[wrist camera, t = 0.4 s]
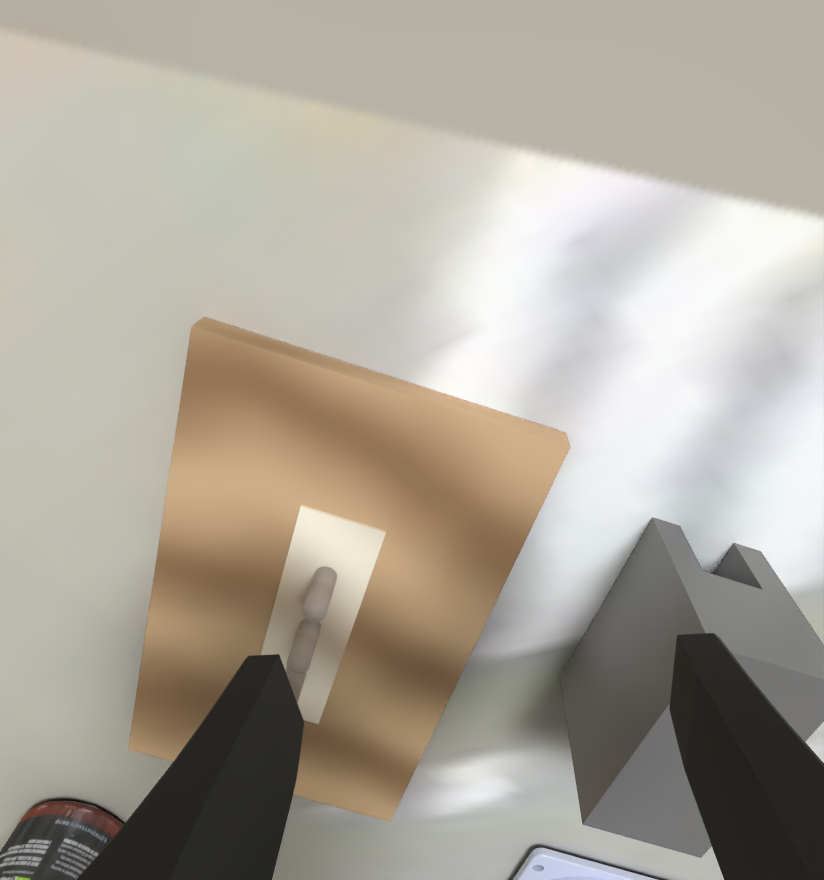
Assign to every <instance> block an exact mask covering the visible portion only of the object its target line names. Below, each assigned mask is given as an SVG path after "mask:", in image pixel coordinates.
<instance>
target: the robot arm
mask: <svg viewBox="0 0 824 880" xmlns="http://www.w3.org/2000/svg"><path fill="white" fill-rule="evenodd" d="M669 710H670V714H671V718H672V722H673V726H674V730H675V735H676V739H677V743H678V747H679V751H680V754H681V758H682V762H683V766H684V770H685V773H686V775H687V778H688V781H689V784H690V787H691V790H692V792H693V795H694V798H695V801H696V803H697V806H698V809H699V812H700V814H701V817H702V820H703V823H704V825H705V828H706V831H707V834H708V836H709V839H710V842H711V845H712V847H713V850H714V853H715V856H716V858H717V861H718V864H719V866H720V869H721V872H722V875H723V877H724V880H824V763H823V762H822V761H821V760H820V759H819V757H818V756H817V755H816V754H815V753H814V752H813V751H812V750H811V748H810V747H809V746H808V745H807V744H806V743H805V742H804V740H803V739H802V738H801V737H800V736H799V735H798V734H797V733H796V731H795V730H794V729H793V728H792V727H791V726H790V725H789V724H788V722H787V721H786V720H785V719H784V718H783V717H782V715H781V714H780V713H779V712H778V711H777V709H776V708H775V707H774V706H773V705H772V703H771V702H770V701H769V700H768V699H767V697H766V696H765V695H764V694H763V693H762V691H761V690H760V689H759V688H758V686H757V685H756V684H755V683H754V681H753V680H752V679H751V678H750V676H749V675H748V674H747V673H746V671H745V670H744V669H743V668H742V666H741V665H740V664H739V662H738V661H737V660H736V659H735V657H734V656H733V655H732V653H731V652H730V651H729V649H728V648H727V647H726V645H725V644H724V643H723V641H722V640H721V639H720V637H718V636H717V635H716V634H714V633H703V634H683V635H677V640H676V649H675V659H674V669H673V678H672V688H671V698H670V707H669ZM303 727H304V720H303V717H302V715H301V712H300V709H299V706H298V704H297V701H296V698H295V696H294V693H293V690H292V688H291V685H290V682H289V679H288V677H287V674H286V671H285V669H284V666H283V663H282V661H281V658H280V655H279V654H274V655H253V656H248V657H247V658H246V659H245V660H244V661H243V663H242V664H241V666H240V667H239V669H238V670H237V672H236V673H235V675H234V676H233V678H232V679H231V681H230V682H229V683H228V685H227V686H226V688H225V689H224V691H223V692H222V694H221V695H220V697H219V698H218V700H217V701H216V703H215V704H214V706H213V707H212V708H211V710H210V711H209V713H208V714H207V716H206V717H205V718H204V720H203V721H202V723H201V724H200V726H199V727H198V728H197V730H196V731H195V733H194V734H193V735H192V737H191V738H190V739H189V741H188V742H187V744H186V745H185V746H184V748H183V749H182V751H181V752H180V753H179V755H178V756H177V757H176V759H175V760H174V762H173V763H172V764H171V766H170V767H169V768H168V770H167V771H166V772H165V774H164V775H163V776H162V777H161V779H160V780H159V781H158V783H157V784H156V785H155V786H154V788H153V789H152V790H151V791H150V793H149V794H148V795H147V796H146V798H145V799H144V800H143V802H142V803H141V804H140V805H139V807H138V808H137V809H136V810H135V812H134V813H133V814H132V816H131V817H130V818H129V819H128V820H127V822H126V823H125V824H124V825H123V826H122V828H121V829H120V830H119V831H118V832H117V834H116V835H115V836H114V837H113V838H112V839H111V841H110V842H109V843H108V844H107V845H106V846H105V848H104V849H103V850H102V851H101V852H100V853H99V854H98V855H97V857H96V858H95V859H94V860H93V861H92V862H91V863H90V864H89V866H88V867H87V868H86V869H85V870H84V871H83V872H82V873H81V874H80V876H79V877H78V878H77V879H76V880H272V877H273V873H274V869H275V865H276V861H277V857H278V853H279V849H280V845H281V841H282V837H283V833H284V829H285V825H286V821H287V817H288V813H289V809H290V804H291V800H292V796H293V792H294V788H295V784H296V779H297V773H298V766H299V759H300V752H301V744H302V736H303ZM513 880H658V879H654V878H650V877H647V876H643V875H640V874H636V873H632V872H629V871H625V870H622V869H618V868H614V867H611V866H607V865H604V864H600V863H597V862H593V861H589V860H586V859H582V858H579V857H575V856H571V855H568V854H564V853H561V852H557V851H553V850H550V849H546V848H536V849H534V850H533V851H532V852H531V853H530V855H529V856H528V858H527V859H526V861H525V862H524V864H523V865H522V867H521V868H520V870H519V871H518V873H517V874H516V875H515V877H514V878H513Z"/></svg>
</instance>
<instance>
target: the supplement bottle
mask: <svg viewBox="0 0 824 880" xmlns="http://www.w3.org/2000/svg"><path fill="white" fill-rule="evenodd" d="M122 826H123V824H122V823H121V822H120V821H118V820H117V819H115V818H114V817H113V815H110V814H109V813H107V812H105V811H104V810H102V809H100V808H98V807H96V806H94V805H90V804H85V803H78V802H75V801H68V800H67V801H51V802H45V803H42V804H39V805H37V806H36V807H34V808H32V809H31V810H29V811H28V812H27V813H26V814H25V815H24V817H23V818H22V819H21V821H20V822H19V824H18V825H17V827H16V829H15V830H14V832H13V833H12V835H11V836H10V838H9V839H8V841H7V842H6V844H5V846H4V847H3V849H2V850H1V852H0V880H76V879H77V878H78V877H79V876H80V874H81V873H82V872H83V871H84V870H85V869H86V868H87V867H88V866H89V864H90V863H91V862H92V861H93V860H94V859H95V858H96V857H97V855H98V854H99V853H100V852H101V851H102V850H103V849H104V848H105V846H106V845H107V844H108V843H109V842H110V841H111V839H112V838H113V837H114V836H115V835H116V834H117V832H118V831H119V830H120V829H121V828H122Z"/></svg>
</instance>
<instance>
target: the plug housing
mask: <svg viewBox="0 0 824 880" xmlns="http://www.w3.org/2000/svg"><path fill="white" fill-rule="evenodd" d="M703 633H714V634H716V635H717V636H718V637H720V639H721V640H722V641H723V643H724V644H725V645H726V647H727V648H728V649H729V651H730V652H731V653H732V655H733V656H734V657H735V659H736V660H737V661H738V662H739V664H740V665H741V666H742V668H743V669H744V670H745V671H746V673H747V674H748V675H749V676H750V678H751V679H752V680H753V681H754V683H755V684H756V685H757V686H758V688H759V689H760V690H761V691H762V693H763V694H764V695H765V696H766V697H767V699H768V700H769V701H770V702H771V703H772V705H773V706H774V707H775V708H776V709H777V711H778V712H779V713H780V714H781V715H782V717H783V718H784V719H785V720H786V721H787V722H788V724H789V725H790V726H791V727H792V728H793V729H794V730H795V731H796V733H797V734H798V735H799V736H800V737H801V738H802V739H803V740H804V742H805V741H806V740H807V739H808V738H809V737H810V736H811V735H812V734H813V732H814V731H815V730H816V729H817V728H818V727H819V726H820V725H821V724H822V722H823V721H824V645H823V643H822V642H821V640H820V639H819V637H818V636H817V634H816V633H815V631H814V630H813V628H812V627H811V625H810V624H809V622H808V621H807V619H806V618H805V616H804V615H803V613H802V612H801V610H800V609H799V607H798V606H797V604H796V603H795V601H794V600H793V599H792V597H791V596H790V594H789V593H788V591H787V590H786V588H785V587H784V585H783V584H782V582H781V581H780V579H779V578H778V576H777V575H776V573H775V572H774V570H773V569H772V567H771V566H770V564H769V563H768V561H767V560H766V558H765V557H764V555H763V554H762V552H761V551H758V550H755V549H752V548H748V547H745V546H742V545H739V544H736V543H734V544H733V545H732V547H731V548H730V550H729V551H728V553H727V554H726V556H725V557H724V559H723V560H722V562H721V563H720V564H719V566H718V567H717V569H716V570H715V572H714V573H713V574H711V573H707V572H704V571H703V570H702V568H701V566H700V564H699V562H698V560H697V558H696V556H695V554H694V552H693V550H692V549H691V547H690V545H689V543H688V541H687V539H686V537H685V535H684V533H683V531H682V529H681V527H680V526H678V525H675V524H672V523H669V522H666V521H663V520H659V519H656V518H652V519H651V521H650V523H649V524H648V526H647V528H646V530H645V531H644V533H643V535H642V536H641V538H640V540H639V542H638V543H637V545H636V547H635V548H634V550H633V552H632V554H631V555H630V557H629V559H628V560H627V562H626V564H625V566H624V567H623V569H622V571H621V572H620V574H619V576H618V578H617V579H616V581H615V583H614V584H613V586H612V588H611V590H610V591H609V593H608V595H607V596H606V598H605V600H604V602H603V603H602V605H601V607H600V608H599V610H598V612H597V614H596V615H595V617H594V619H593V620H592V622H591V624H590V626H589V627H588V629H587V631H586V632H585V634H584V636H583V638H582V639H581V641H580V643H579V644H578V646H577V648H576V650H575V651H574V653H573V655H572V656H571V658H570V660H569V662H568V663H567V665H566V667H565V668H564V670H563V672H562V673H561V675H560V683H561V690H562V696H563V703H564V709H565V715H566V722H567V728H568V734H569V741H570V747H571V753H572V760H573V766H574V773H575V779H576V785H577V792H578V798H579V804H580V811H581V817H582V823H583V825H586V826H590V827H593V828H597V829H601V830H604V831H608V832H611V833H615V834H618V835H622V836H625V837H629V838H632V839H636V840H640V841H643V842H647V843H650V844H654V845H657V846H661V847H664V848H668V849H671V850H675V851H679V852H682V853H686V854H689V855H693V856H696V857H700V858H701V857H702V856H703V855H704V854H705V853H706V852H707V850H708V849H709V848H710V847H711V846H712V845H711V842H710V839H709V836H708V834H707V831H706V828H705V825H704V823H703V820H702V817H701V814H700V812H699V809H698V806H697V803H696V801H695V798H694V795H693V792H692V790H691V787H690V784H689V781H688V778H687V775H686V773H685V770H684V766H683V762H682V758H681V754H680V751H679V747H678V743H677V739H676V735H675V730H674V726H673V722H672V718H671V714H670V710H669V707H670V698H671V688H672V678H673V669H674V659H675V649H676V640H677V635H683V634H703Z"/></svg>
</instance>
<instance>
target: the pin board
mask: <svg viewBox="0 0 824 880" xmlns="http://www.w3.org/2000/svg"><path fill="white" fill-rule="evenodd" d="M569 449H570V444H569V441H568V437H567V434H566V433H565V432H562V431H559V430H556V429H553V428H549V427H546V426H543V425H540V424H537V423H534V422H531V421H528V420H524V419H521V418H518V417H515V416H512V415H509V414H506V413H503V412H499V411H496V410H493V409H490V408H487V407H484V406H481V405H478V404H474V403H471V402H468V401H465V400H462V399H459V398H456V397H453V396H449V395H446V394H443V393H440V392H437V391H434V390H431V389H428V388H424V387H421V386H418V385H415V384H412V383H409V382H406V381H403V380H399V379H396V378H393V377H390V376H387V375H384V374H381V373H378V372H374V371H371V370H368V369H365V368H362V367H359V366H356V365H352V364H349V363H346V362H343V361H340V360H337V359H334V358H331V357H327V356H324V355H321V354H318V353H315V352H312V351H309V350H306V349H302V348H299V347H296V346H293V345H290V344H287V343H284V342H281V341H277V340H274V339H271V338H268V337H265V336H262V335H259V334H256V333H252V332H249V331H246V330H243V329H240V328H237V327H234V326H231V325H227V324H224V323H221V322H218V321H215V320H212V319H209V318H206V317H204V318H202V319H201V320H200V321H198V322H197V323H195V324H194V325H193V326H192V327H191V334H190V341H189V347H188V354H187V361H186V367H185V374H184V381H183V387H182V394H181V401H180V407H179V414H178V421H177V427H176V434H175V441H174V447H173V454H172V461H171V467H170V474H169V481H168V487H167V494H166V501H165V507H164V514H163V521H162V527H161V534H160V541H159V547H158V554H157V561H156V567H155V574H154V580H153V587H152V594H151V600H150V607H149V614H148V620H147V627H146V634H145V640H144V647H143V654H142V660H141V667H140V674H139V680H138V687H137V694H136V700H135V707H134V714H133V720H132V727H131V734H130V740H129V747H128V749H129V750H133V751H136V752H140V753H144V754H147V755H151V756H154V757H158V758H162V759H165V760H169V761H172V762H174V760H175V759H176V757H177V756H178V755H179V753H180V752H181V751H182V749H183V748H184V746H185V745H186V744H187V742H188V741H189V739H190V738H191V737H192V735H193V734H194V733H195V731H196V730H197V728H198V727H199V726H200V724H201V723H202V721H203V720H204V718H205V717H206V716H207V714H208V713H209V711H210V710H211V708H212V707H213V706H214V704H215V703H216V701H217V700H218V698H219V697H220V695H221V694H222V692H223V691H224V689H225V688H226V686H227V685H228V683H229V682H230V681H231V679H232V678H233V676H234V675H235V673H236V672H237V670H238V669H239V667H240V666H241V664H242V663H243V661H244V660H245V659H246V658H247V657H248V656H253V655H274V654H279V655H280V658H281V661H282V663H283V666H284V669H285V671H286V674H287V677H288V679H289V682H290V685H291V688H292V690H293V693H294V696H295V698H296V701H297V704H298V706H299V709H300V712H301V715H302V717H303V720H304V727H303V736H302V744H301V752H300V759H299V766H298V773H297V779H296V784H295V788H294V792H293V795H295V796H299V797H302V798H306V799H310V800H313V801H317V802H320V803H324V804H328V805H331V806H335V807H338V808H342V809H346V810H349V811H353V812H357V813H360V814H364V815H367V816H371V817H375V818H378V819H382V820H385V821H389V822H390V821H391V819H392V817H393V815H394V813H395V811H396V809H397V806H398V804H399V802H400V800H401V798H402V796H403V794H404V792H405V790H406V788H407V786H408V784H409V781H410V779H411V777H412V775H413V773H414V771H415V769H416V767H417V765H418V763H419V761H420V759H421V757H422V754H423V752H424V750H425V748H426V746H427V744H428V742H429V740H430V738H431V736H432V734H433V732H434V730H435V727H436V725H437V723H438V721H439V719H440V717H441V715H442V713H443V711H444V709H445V707H446V705H447V702H448V700H449V698H450V696H451V694H452V692H453V690H454V688H455V686H456V684H457V682H458V680H459V678H460V675H461V673H462V671H463V669H464V667H465V665H466V663H467V661H468V659H469V657H470V655H471V653H472V650H473V648H474V646H475V644H476V642H477V640H478V638H479V636H480V634H481V632H482V630H483V628H484V626H485V623H486V621H487V619H488V617H489V615H490V613H491V611H492V609H493V607H494V605H495V603H496V601H497V599H498V596H499V594H500V592H501V590H502V588H503V586H504V584H505V582H506V580H507V578H508V576H509V574H510V571H511V569H512V567H513V565H514V563H515V561H516V559H517V557H518V555H519V553H520V551H521V549H522V547H523V544H524V542H525V540H526V538H527V536H528V534H529V532H530V530H531V528H532V526H533V524H534V522H535V520H536V517H537V515H538V513H539V511H540V509H541V507H542V505H543V503H544V501H545V499H546V497H547V495H548V492H549V490H550V488H551V486H552V484H553V482H554V480H555V478H556V476H557V474H558V472H559V470H560V468H561V465H562V463H563V461H564V459H565V457H566V455H567V453H568V451H569Z"/></svg>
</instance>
